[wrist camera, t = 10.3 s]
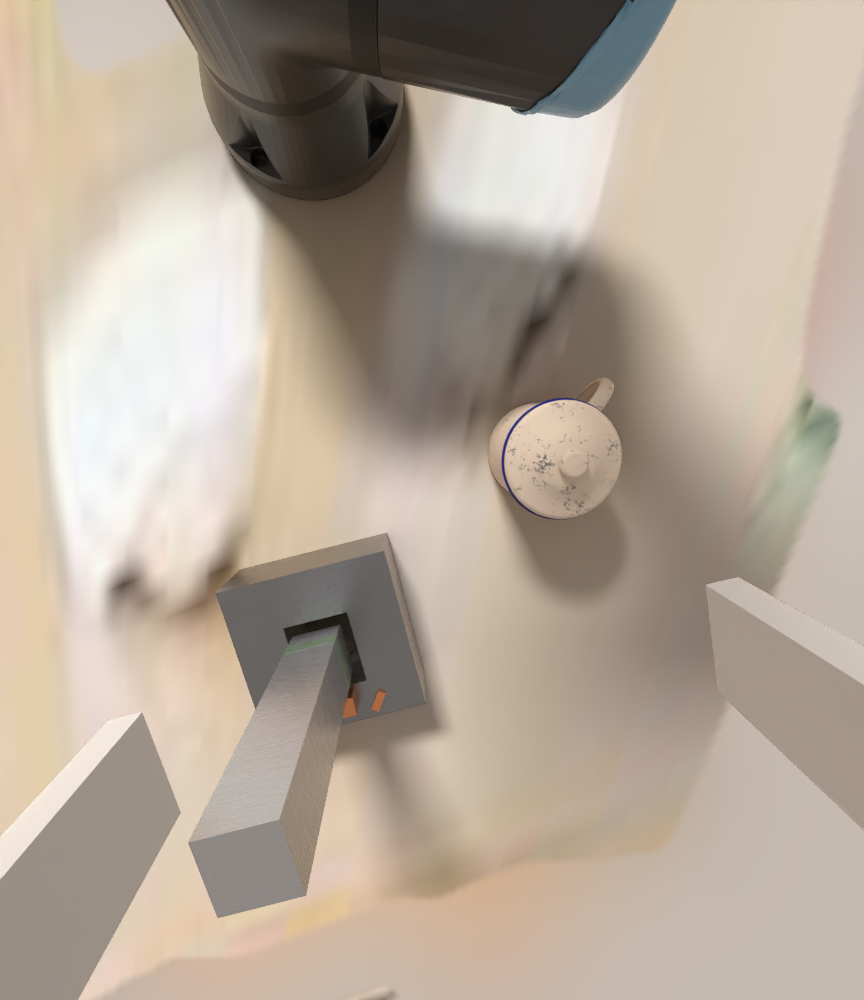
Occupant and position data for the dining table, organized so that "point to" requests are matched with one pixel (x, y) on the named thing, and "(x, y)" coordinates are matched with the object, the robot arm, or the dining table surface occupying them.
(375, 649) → the sleeve base
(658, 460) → the dining table surface
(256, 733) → the column
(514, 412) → the teacup with lid
